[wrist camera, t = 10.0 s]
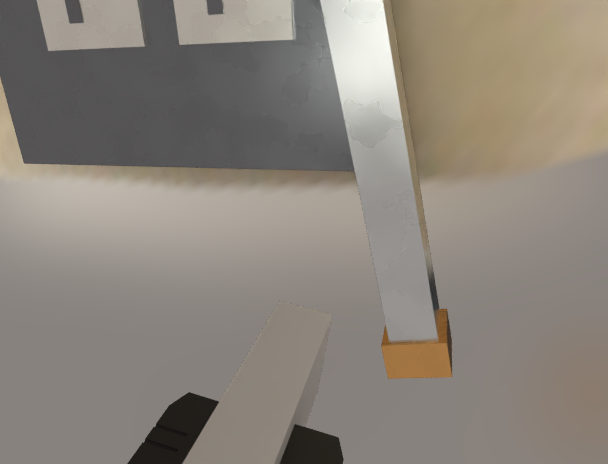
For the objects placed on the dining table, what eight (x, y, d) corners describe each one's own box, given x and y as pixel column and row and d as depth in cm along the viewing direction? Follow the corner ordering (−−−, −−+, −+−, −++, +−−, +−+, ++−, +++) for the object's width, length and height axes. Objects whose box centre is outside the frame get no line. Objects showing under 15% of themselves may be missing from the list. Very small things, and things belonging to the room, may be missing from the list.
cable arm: (304, -84, 21) (280, -101, 18) (387, -113, 20) (376, -136, 17) (390, 342, 29) (383, 382, 26) (455, 339, 27) (456, 380, 24)
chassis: (-33, -160, 26) (-75, -175, 24) (385, -237, 21) (378, -266, 19) (47, 155, 33) (19, 165, 31) (381, 161, 27) (375, 174, 25)
